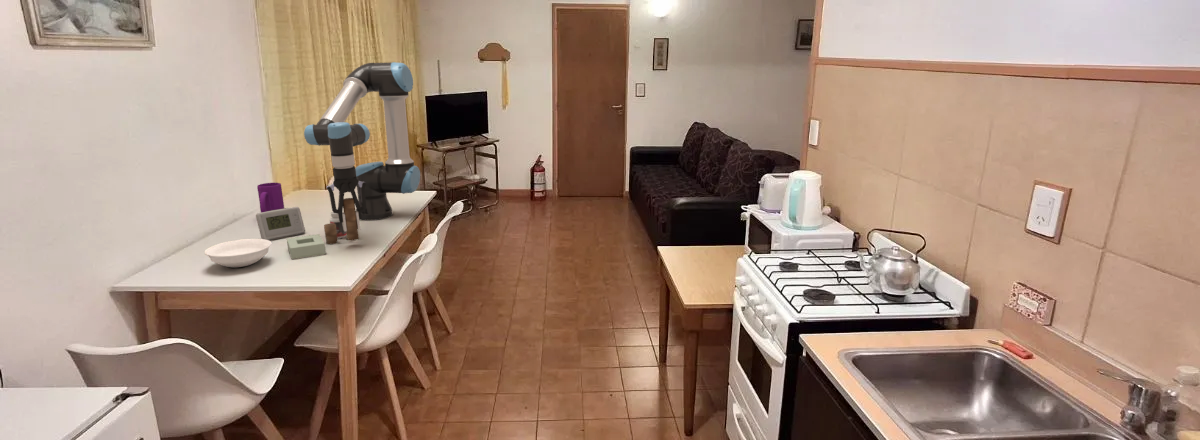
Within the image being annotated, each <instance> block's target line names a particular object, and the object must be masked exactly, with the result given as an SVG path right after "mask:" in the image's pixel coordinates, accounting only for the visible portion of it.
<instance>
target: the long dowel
mask: <svg viewBox="0 0 1200 440" xmlns="http://www.w3.org/2000/svg"><path fill="white" fill-rule="evenodd" d="M343 212H344V214H345V220H346V228H347V231H346V233H347V236H346V239H347V241H351V242H352V241H356V240H359V239H360V236H359V229H358V227H357V219H356V206H355V203H354V199H353V197H347V198H344V200H343Z"/></svg>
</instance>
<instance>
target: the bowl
mask: <svg viewBox="0 0 1200 440" xmlns="http://www.w3.org/2000/svg"><path fill="white" fill-rule="evenodd" d="M271 246H272V241H271V240H265V239H262V238H243V239H235V240H230V241H229V240H228V241H225V242H220V243H216V244H215V245H212V246H210V247H208V248H206V249H205V250H204V251H203V252H204V255H206V256H207V257H208V258H209V259H210V261H211V262H213V263H214V264H218V265H220V266H224V267H228V268H242V267H247V266H251V265H254V264H255V263H257V262H259V261H260V260H261V259H263V257H264V256H265V255H268V253H269V248H270V247H271Z"/></svg>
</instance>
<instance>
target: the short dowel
mask: <svg viewBox="0 0 1200 440" xmlns="http://www.w3.org/2000/svg"><path fill="white" fill-rule="evenodd" d="M323 227H324V237H325V242H326V243H325V245H335V244H338V242H339V240H338V239H339V238H337V231H336V224H334V223H330V222H329V223H326V224H324V225H323Z"/></svg>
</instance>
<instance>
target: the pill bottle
mask: <svg viewBox="0 0 1200 440" xmlns="http://www.w3.org/2000/svg"><path fill="white" fill-rule="evenodd" d="M330 216H331V217H330V219H329V224H330V223H334V224H336V231H337V239H344V238H347V233H346V231H344V229H343V222H341V223H340V221H339V216H338V213H334V212H333V211H332V212H330Z"/></svg>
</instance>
